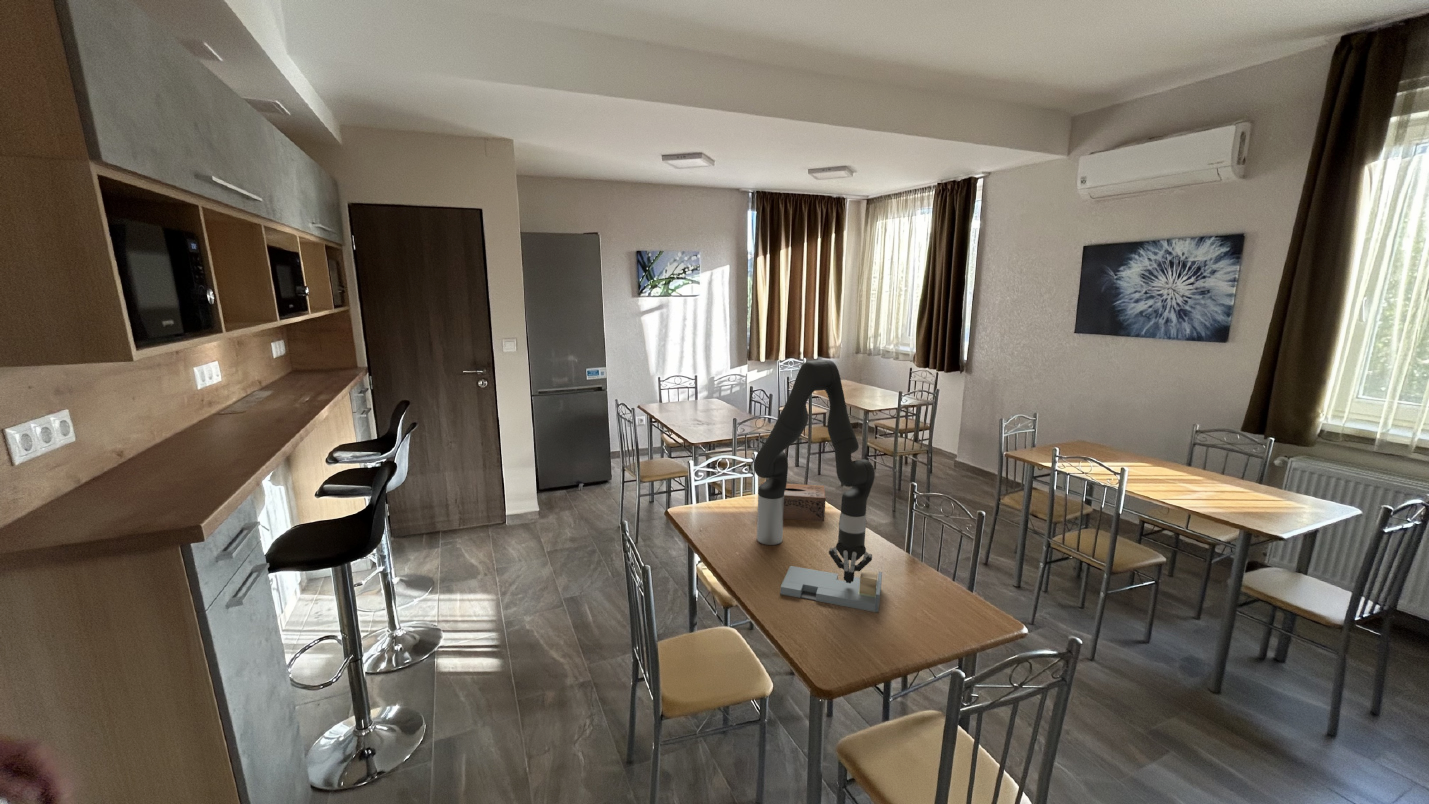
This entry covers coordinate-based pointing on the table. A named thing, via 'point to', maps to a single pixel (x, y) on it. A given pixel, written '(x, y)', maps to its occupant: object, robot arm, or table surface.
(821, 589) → the plate
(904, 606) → the table surface
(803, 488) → the tissue box cover
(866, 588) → the beech block
